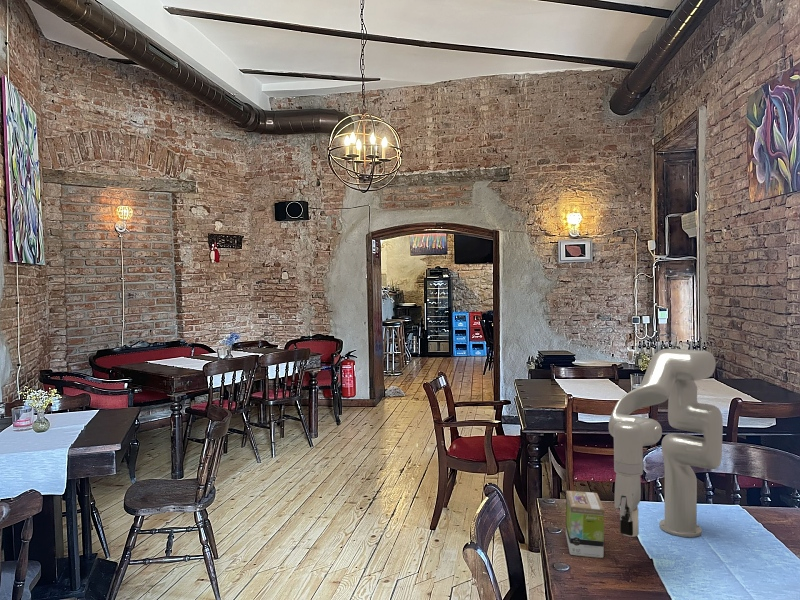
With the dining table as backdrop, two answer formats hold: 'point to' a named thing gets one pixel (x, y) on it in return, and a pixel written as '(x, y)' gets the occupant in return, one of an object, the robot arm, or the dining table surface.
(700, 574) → the dining table surface
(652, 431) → the robot arm
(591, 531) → the tea box
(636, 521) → the jar
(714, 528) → the dining table surface
